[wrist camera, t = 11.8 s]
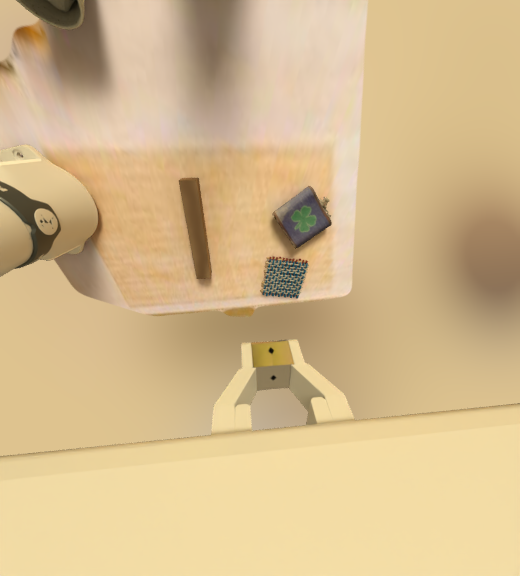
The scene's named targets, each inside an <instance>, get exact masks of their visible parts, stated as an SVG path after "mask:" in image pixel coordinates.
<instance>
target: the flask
mask: <svg viewBox="0 0 520 576" xmlns="http://www.w3.org/2000/svg"><path fill="white" fill-rule="evenodd" d="M328 202H329V199H328V198H327V197H326V198H325V197H324V199H323V200H322V199H321V200H320V201H319V199H318V197H317V195H316V193H315V191H314V189H313V188H312V187H311V186H308V187H307V188H305V189H304V190H303V191H302V192H300V193H299V194H298V195H296V196H295V197H294V198H292V199H291V200H290V201H288V202H287V203H285V204H284V205H283V206H281V207H280V208H279V209H278V210H276V211H274V213H273V216H274V217H275V219H276V220H277V221H278V223H279V225H280V226H281V228H282V229H283V231H284V232H285V234H286V235H287V236H288V238H289V240H290V241H291V243H292V244H293V246H294V247H295V249H296V248H298V247H300V246H301V245H302V244H304V243H305V242H307V241H308V240H310V239H311V238H313V237H314V236H315V235H317V234H319V233H320V232H321V231H323V230H325V229H326V228H327V227H329V226H331V220H330V217H331V215H328V211H327V210H326V204H327V203H328ZM326 211H327V213H326Z"/></svg>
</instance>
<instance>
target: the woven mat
mask: <svg viewBox="0 0 520 576" xmlns="http://www.w3.org/2000/svg"><path fill="white" fill-rule="evenodd" d="M267 259H268V260H267V261H268V262H267V261H266V264H268V265H265V267H266V268H267V269H266V270H264V272H267V273H265V277H266V278H265V277H264V280H265V281H264V282H262V284H264V285H261V286H262V287H263V289H262V290H260V291H261V292H263V295H264V294H266V296H267V295H268V292H269V295H270V294H271V292H272V296H274V293H275V296H276V295H277V294H278V297H280V294H281V296H283V294H284V297H286V294H287V297H289V295H290V298H292V294H293V297H295V296H296V298H298V295H299V294H300V293H301V292H300V291H301V290H300V289H301V288H302V285H303V284H302V283H304V282H303V281H304V280H305V279H304V278H305V277H304V276H306V274H305V272H307V271H306V270H307V269H308V268H307V267H309V266H308V263H307V262H308V261H304V260H301V259H299V260H297V259H296V260H294V259H288V258H286V259H285V258H281V257H279V258H278V257H276V258H275V257H267ZM271 259H272V260H271ZM275 260H276V261H275ZM271 261H272V262H271ZM281 261H282V262H281ZM285 261H286V262H285ZM284 262H285V263H284ZM291 262H292V263H291ZM301 263H302V264H301ZM274 264H275V265H274ZM280 265H281V266H280ZM284 265H285V266H284ZM300 267H301V268H300ZM303 267H304V268H303ZM306 268H307V269H306ZM276 269H277V270H276ZM286 270H287V271H286ZM292 271H293V272H292ZM295 271H296V272H295ZM269 272H270V273H269ZM268 273H269V274H268ZM272 273H273V274H272ZM275 273H276V274H275ZM279 273H280V274H279ZM285 274H286V275H285ZM288 274H289V275H288ZM291 274H292V275H291ZM294 275H295V276H294ZM281 278H282V279H281ZM284 278H285V279H284ZM290 279H291V280H290ZM267 280H268V281H267ZM270 280H272V281H270ZM283 281H284V282H283ZM286 282H287V283H286ZM289 282H290V283H289ZM295 283H296V284H295ZM276 285H277V286H276ZM266 288H267V289H266ZM269 288H270V289H269ZM275 289H276V290H275ZM278 289H279V290H278ZM281 289H282V290H281ZM287 289H288V291H287ZM284 290H285V291H284ZM265 292H266V293H265Z"/></svg>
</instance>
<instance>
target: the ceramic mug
mask: <svg viewBox="0 0 520 576" xmlns="http://www.w3.org/2000/svg"><path fill="white" fill-rule="evenodd" d="M17 1H18V2H19V3H20V4H21V5H22V6H23V7H25V8H26V9H27V10H28V11H30V12H31V13H32V14H34V15H35V16H37V17H38V18H40V19H41V20H43V21H45V22H47V23H48V24H51V25H53V26H55V27H58V28H61V29H66V30H71V29H76V28H78V27H79V26H81V24H82V23H83V20H84V0H17Z"/></svg>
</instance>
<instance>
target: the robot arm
mask: <svg viewBox="0 0 520 576" xmlns="http://www.w3.org/2000/svg"><path fill="white" fill-rule="evenodd" d="M20 153H21V154H22V155H23V157H22V156H21V155H20ZM97 225H98V212H97V208H96V205H95V203H94V200H93V198H92V197H91V195H90V194H89V192H88V191H87V189H86V188H85V187H84V186H83V185H82V184H81V183H80V182H79V181H78V180H77V179H76V178H75V177H74V176H72V175H71V174H70V173H68V172H67V171H65V170H64V169H62V168H60V167H58V166H56V165H54V164H53V163H51V162H49V161H48V160H47V159H46V158H45V157H44V156H43V155H42V154H41V153H39V152H38V151H37V150H36V149H35V148H33V147H32V146H30V145H20V146H16V147H12V148H8V149H4V150H0V277H1V276H3V275H4V274H6V273H8V272H9V271H11V270H13V269H16V268H21V267H23V266H26V265H29V264H32V263H34V262H35V261H37V260H39V259H40V260H46V261H50V260H53V259H55V258H57V257H59V256H61V255H63V254H65V253H68V254H78V253H80V252H82V250H83V248H84V244H85V241H86V240H87V239H88V238H89V237H91V236H92V235H93V233H94V232H95V230H96V228H97ZM241 356H242V369H239V370H238V371H237V373H236V374H235V376H234V377H233V379H232V380H231V382H230V383H229V385H228V386H227V388H226V389H225V390H224V392H223V393H222V395H221V396H220V398H219V399H218V401H217V402H216V403H215V405H214V409H213V420H212V431H211V435H205V436H197V437H187V438H177V439H167V440H157V441H147V442H137V443H127V444H117V445H107V446H97V447H87V448H78V449H68V450H58V451H48V452H38V453H28V454H18V455H8V456H0V576H520V403H518V404H509V405H498V406H489V407H479V408H470V409H460V410H450V411H440V412H431V413H420V414H410V415H402V416H392V417H381V418H371V419H362V420H355V419H354V416H353V414H352V412H351V409H350V407H349V405H348V402H347V400H346V398H345V395H344V394H343V393H342V392H341V391H340V390H338V389H337V388H336V387H335V386H334V385H333V384H331V383H330V382H329V381H328V380H327V379H326V378H324V377H323V376H322V375H321V374H320V373H318V372H317V371H316V370H315V369H314V368H313V367H312V366H310V365H309V364H305V361H304V358H303V355H302V352H301V349H300V346H299V343H298V340H297V339H292V340H279V341H269V342H252V343H242V344H241ZM278 388H289V389H290V390H291V391H292V393H293V394H294V395H295V396H296V397H297V399H298V400H299V401H300V402H301V404H303V406H304V407H305V408H306V409H307V411H308V418H307V422H306V425H303V426H294V427H284V428H274V429H265V430H255V431H252V427H251V411H250V405H251V403H252V401H253V399H254V396H255V395H256V392H257V391H259V390H266V389H278Z"/></svg>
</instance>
